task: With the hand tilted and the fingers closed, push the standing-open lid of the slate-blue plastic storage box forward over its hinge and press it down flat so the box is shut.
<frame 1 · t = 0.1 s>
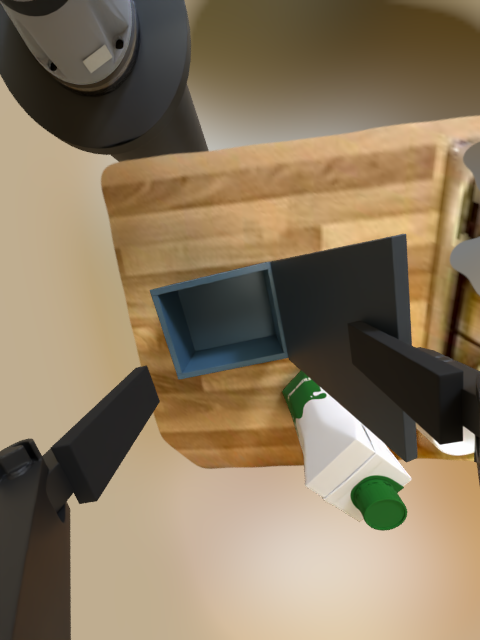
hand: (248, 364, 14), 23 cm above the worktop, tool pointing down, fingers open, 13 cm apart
lid: (319, 327, 19), point 17 cm above the worktop, hinge at 103.1°, touching gripper
milk carton: (308, 387, 40), on the worktop
cup: (417, 382, 39), on the worktop
storage box: (227, 311, 37), on the worktop
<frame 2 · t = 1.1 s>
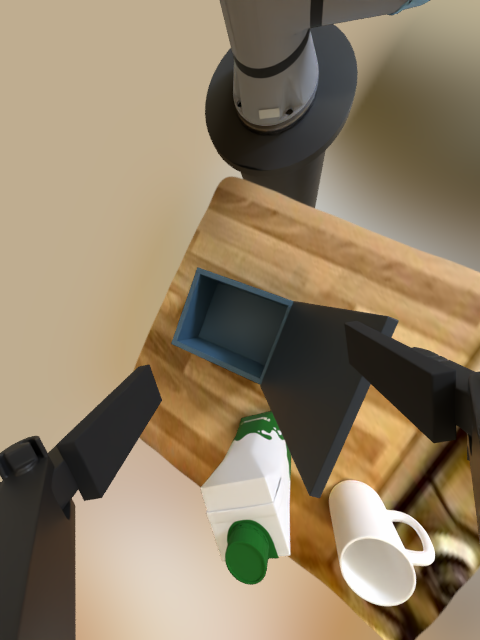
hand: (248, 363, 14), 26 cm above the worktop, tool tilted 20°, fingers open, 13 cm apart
lid: (302, 366, 22), point 17 cm above the worktop, hinge at 111.4°, touching gripper
milk carton: (265, 431, 40), on the worktop
cup: (366, 502, 36), on the worktop
storage box: (242, 323, 41), on the worktop
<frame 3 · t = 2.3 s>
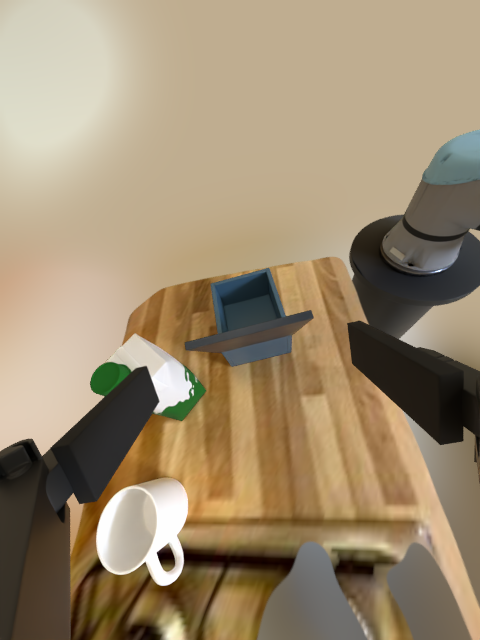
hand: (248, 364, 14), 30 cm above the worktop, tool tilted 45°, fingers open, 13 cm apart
lid: (252, 337, 29), point 17 cm above the worktop, hinge at 110.4°
milk carton: (183, 394, 45), on the worktop
cup: (172, 518, 35), on the worktop
storage box: (253, 327, 49), on the worktop
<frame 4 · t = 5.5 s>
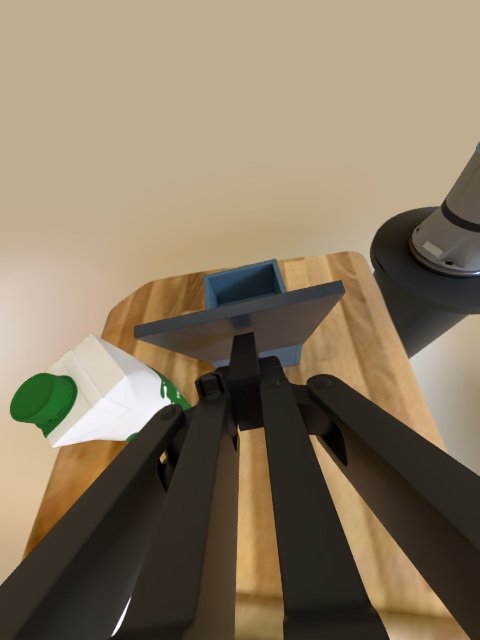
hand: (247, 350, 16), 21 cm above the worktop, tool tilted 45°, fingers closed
lid: (248, 337, 21), point 17 cm above the worktop, hinge at 104.5°, touching gripper
milk carton: (163, 410, 36), on the worktop
storage box: (253, 331, 41), on the worktop
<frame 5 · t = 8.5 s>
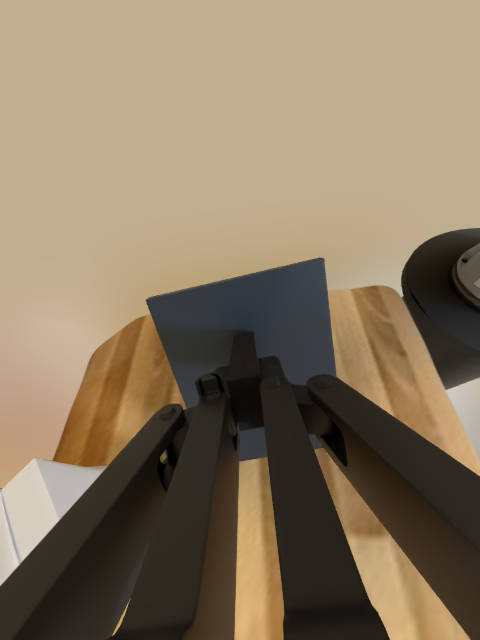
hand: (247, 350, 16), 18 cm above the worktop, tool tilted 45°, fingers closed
lid: (256, 378, 18), point 16 cm above the worktop, hinge at 50.2°, touching gripper
milk carton: (152, 501, 28), on the worktop
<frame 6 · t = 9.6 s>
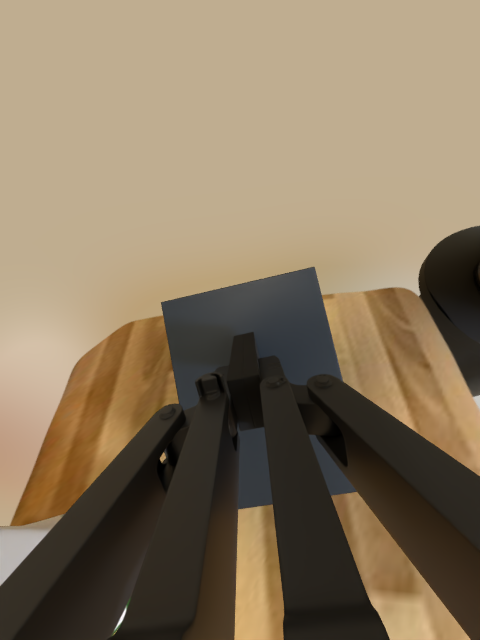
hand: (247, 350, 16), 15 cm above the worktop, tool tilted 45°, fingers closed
lid: (257, 388, 17), point 13 cm above the worktop, hinge at 26.6°, touching gripper
milk carton: (136, 542, 24), on the worktop
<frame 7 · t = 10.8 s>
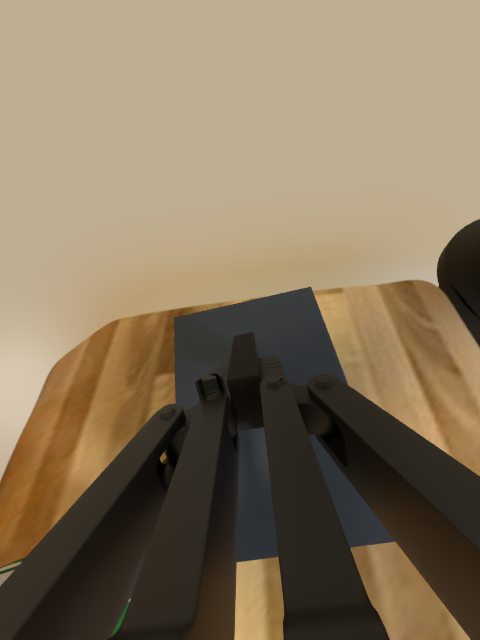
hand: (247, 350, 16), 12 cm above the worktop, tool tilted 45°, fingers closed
lid: (259, 399, 16), point 10 cm above the worktop, hinge at 3.6°, touching gripper
milk carton: (111, 584, 20), on the worktop
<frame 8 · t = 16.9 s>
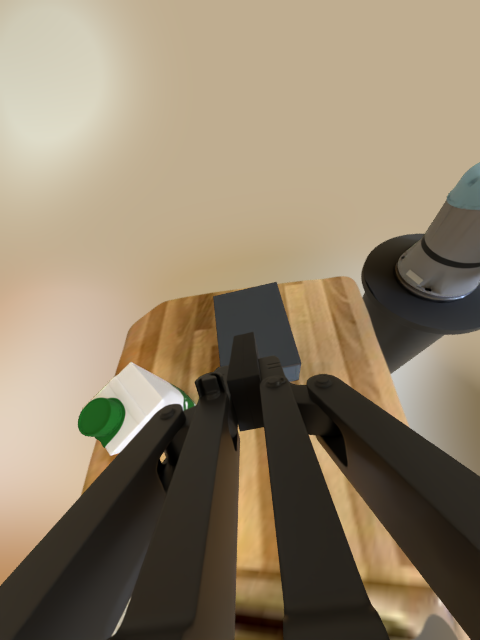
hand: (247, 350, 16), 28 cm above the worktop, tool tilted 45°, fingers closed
lid: (252, 326, 39), point 9 cm above the worktop, hinge at -0.2°, touching storage box
milk carton: (181, 420, 42), on the worktop
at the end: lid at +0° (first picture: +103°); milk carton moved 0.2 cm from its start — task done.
